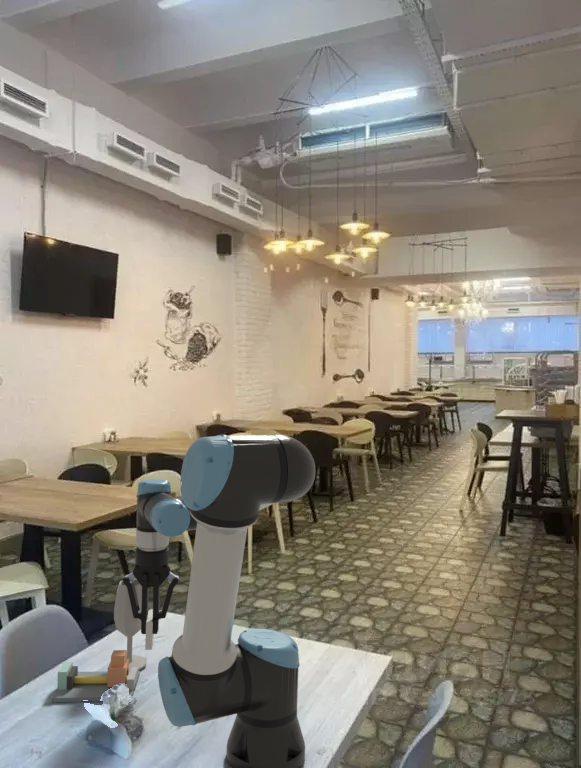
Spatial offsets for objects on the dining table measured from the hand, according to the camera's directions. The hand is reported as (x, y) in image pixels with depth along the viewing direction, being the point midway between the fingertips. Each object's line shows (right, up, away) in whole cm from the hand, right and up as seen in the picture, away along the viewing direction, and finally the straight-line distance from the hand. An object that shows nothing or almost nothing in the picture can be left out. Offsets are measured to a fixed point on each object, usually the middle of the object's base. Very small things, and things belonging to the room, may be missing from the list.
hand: (149, 646), depth 145 cm
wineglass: (-7, -9, +10) cm, 15 cm away
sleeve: (-7, -8, -1) cm, 11 cm away
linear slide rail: (-11, -9, -1) cm, 15 cm away
